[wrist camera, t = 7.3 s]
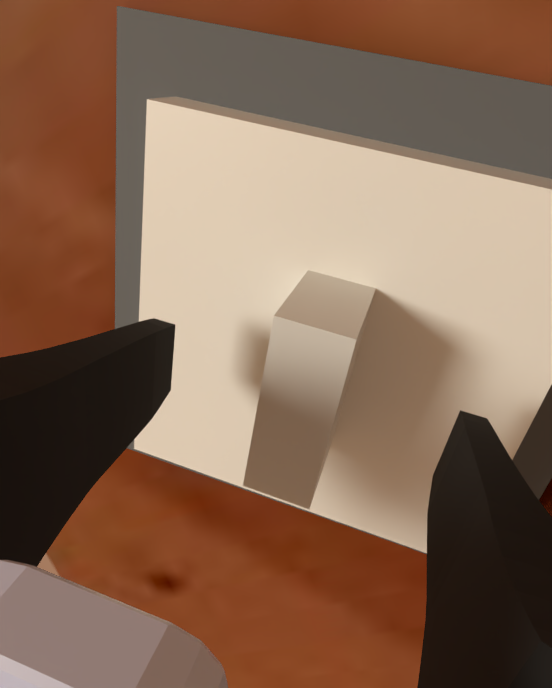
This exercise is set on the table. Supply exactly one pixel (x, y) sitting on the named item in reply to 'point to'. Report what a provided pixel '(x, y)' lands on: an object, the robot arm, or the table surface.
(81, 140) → the table surface
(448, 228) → the lid
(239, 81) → the mat
